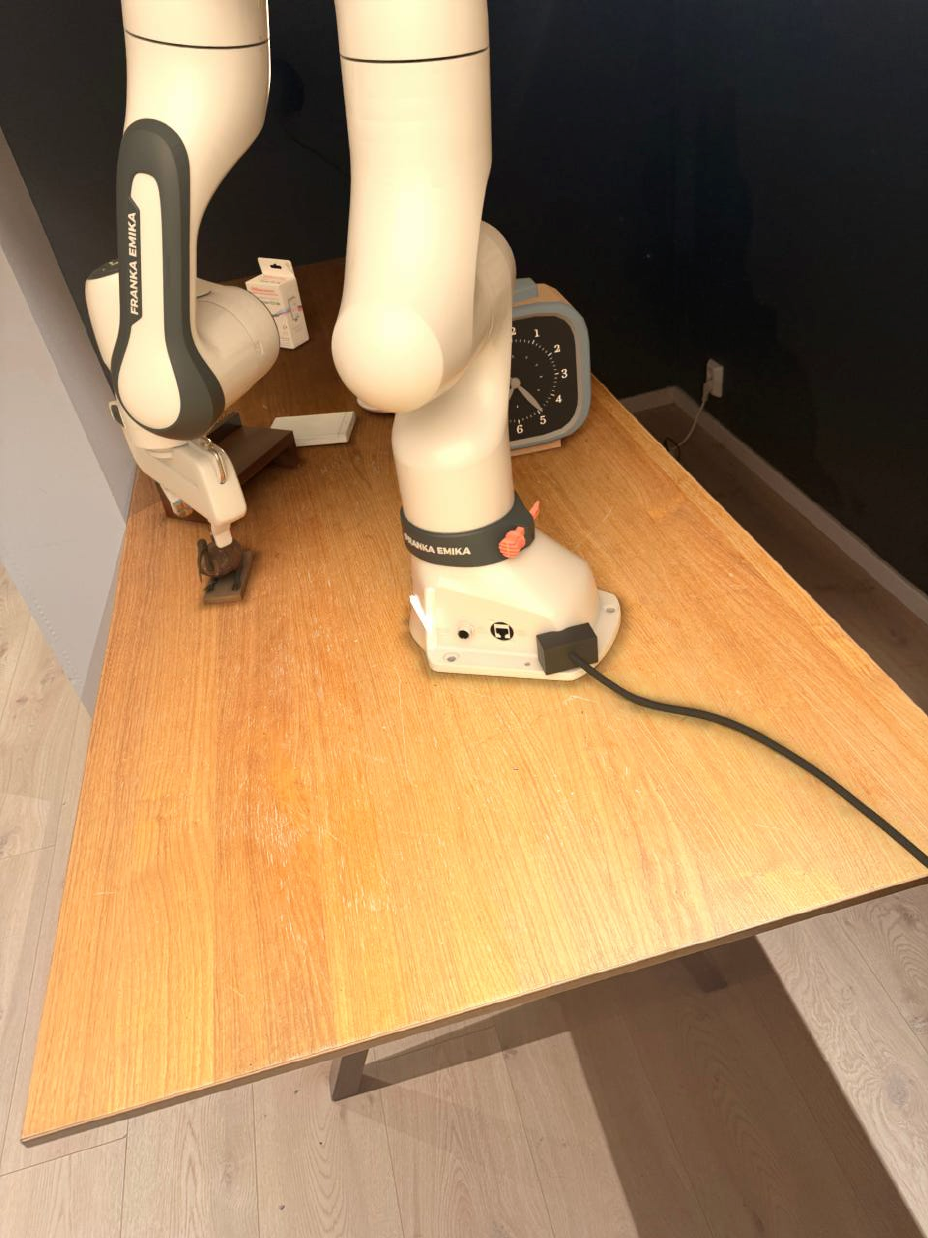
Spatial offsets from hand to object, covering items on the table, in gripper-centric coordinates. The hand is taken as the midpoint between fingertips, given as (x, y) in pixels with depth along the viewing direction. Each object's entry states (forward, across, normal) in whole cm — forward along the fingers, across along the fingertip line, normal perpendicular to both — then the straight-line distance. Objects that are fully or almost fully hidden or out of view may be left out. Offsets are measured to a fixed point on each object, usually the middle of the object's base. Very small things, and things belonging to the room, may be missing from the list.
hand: (203, 528), depth 107 cm
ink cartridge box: (+9, +65, -48) cm, 81 cm away
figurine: (+9, -1, 0) cm, 9 cm away
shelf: (+9, +21, -14) cm, 26 cm away
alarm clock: (+8, -1, -46) cm, 47 cm away
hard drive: (+9, +26, -30) cm, 41 cm away
